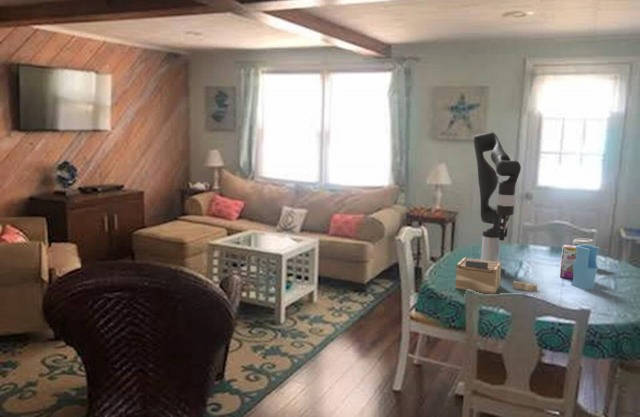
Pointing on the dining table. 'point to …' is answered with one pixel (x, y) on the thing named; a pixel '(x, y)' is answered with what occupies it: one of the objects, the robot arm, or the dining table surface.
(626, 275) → the dining table surface
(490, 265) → the toolbox lid
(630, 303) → the dining table surface
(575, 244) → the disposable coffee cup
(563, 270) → the candy bar box
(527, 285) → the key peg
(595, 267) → the light-blue file holder
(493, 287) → the toolbox
